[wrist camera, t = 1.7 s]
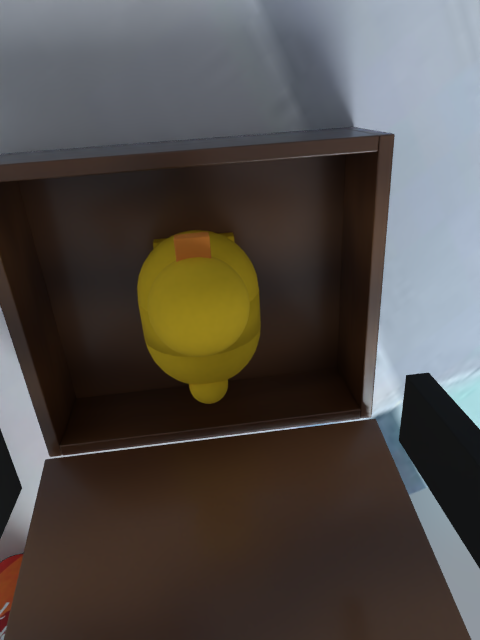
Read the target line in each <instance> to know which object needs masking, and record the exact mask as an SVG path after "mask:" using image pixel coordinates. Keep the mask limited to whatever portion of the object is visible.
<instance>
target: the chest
mask: <svg viewBox="0 0 480 640" xmlns="http://www.w3.org/2000/svg"><path fill="white" fill-rule="evenodd" d="M393 147H394V134H392V133H386V132H380V131H374V130H368V129H362V128H357V127H348V128H335V129H322V130H309V131H296V132H283V133H270V134H257V135H243V136H230V137H217V138H204V139H191V140H178V141H165V142H152V143H139V144H125V145H112V146H99V147H86V148H73V149H60V150H47V151H34V152H21V153H8V154H0V305H1V308H2V311H3V314H4V317H5V320H6V324H7V327H8V330H9V333H10V336H11V339H12V342H13V345H14V348H15V351H16V354H17V357H18V360H19V363H20V367H21V370H22V373H23V376H24V379H25V382H26V385H27V388H28V391H29V394H30V397H31V400H32V403H33V407H34V410H35V413H36V416H37V419H38V422H39V425H40V428H41V431H42V434H43V437H44V440H45V443H46V446H47V450H48V453H49V456H50V457H53V456H61V455H70V454H78V453H86V452H94V451H102V450H110V449H119V448H127V447H135V446H143V445H151V444H159V443H167V442H175V441H183V440H192V439H200V438H208V437H216V436H224V435H232V434H240V433H248V432H256V431H265V430H273V429H281V428H289V427H297V426H305V425H313V424H321V423H329V422H338V421H346V420H354V419H360V418H368V417H371V415H372V403H373V391H374V378H375V366H376V354H377V342H378V330H379V317H380V305H381V293H382V281H383V269H384V256H385V244H386V232H387V220H388V208H389V195H390V183H391V171H392V159H393ZM190 230H204V231H211V232H214V233H217V234H219V233H230V232H232V233H233V235H234V242H235V243H236V244H237V245H238V246H239V247H240V248H241V249H242V250H243V251H244V252H245V253H246V255H247V256H248V258H249V259H250V261H251V262H252V264H253V266H254V269H255V272H256V274H257V280H258V286H259V300H260V321H261V328H260V338H259V341H258V345H257V348H256V351H255V353H254V355H253V356H252V358H251V360H250V361H249V363H248V364H247V365H246V366H245V367H244V368H243V369H242V370H241V371H240V372H239V373H238V374H236V375H235V376H233V377H231V378H229V379H228V389H227V392H226V394H225V395H224V397H223V398H222V399H221V400H219V401H217V402H215V403H212V404H205V403H202V402H199V401H198V400H196V399H195V398H194V397H193V395H192V394H191V391H190V388H189V384H187V383H184V382H181V381H178V380H176V379H174V378H173V377H171V376H170V375H168V374H166V373H165V372H164V371H163V370H162V369H161V368H160V367H159V366H158V365H157V364H156V363H155V361H154V360H153V358H152V356H151V354H150V352H149V350H148V348H147V345H146V342H145V338H144V333H143V327H142V322H141V316H140V310H139V305H138V294H137V284H138V278H139V274H140V271H141V268H142V266H143V263H144V262H145V260H146V258H147V257H148V255H149V254H150V252H151V251H152V250H153V249H154V248H153V241H154V239H164V238H169V237H171V236H172V235H175V234H178V233H181V232H185V231H190Z"/></svg>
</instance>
